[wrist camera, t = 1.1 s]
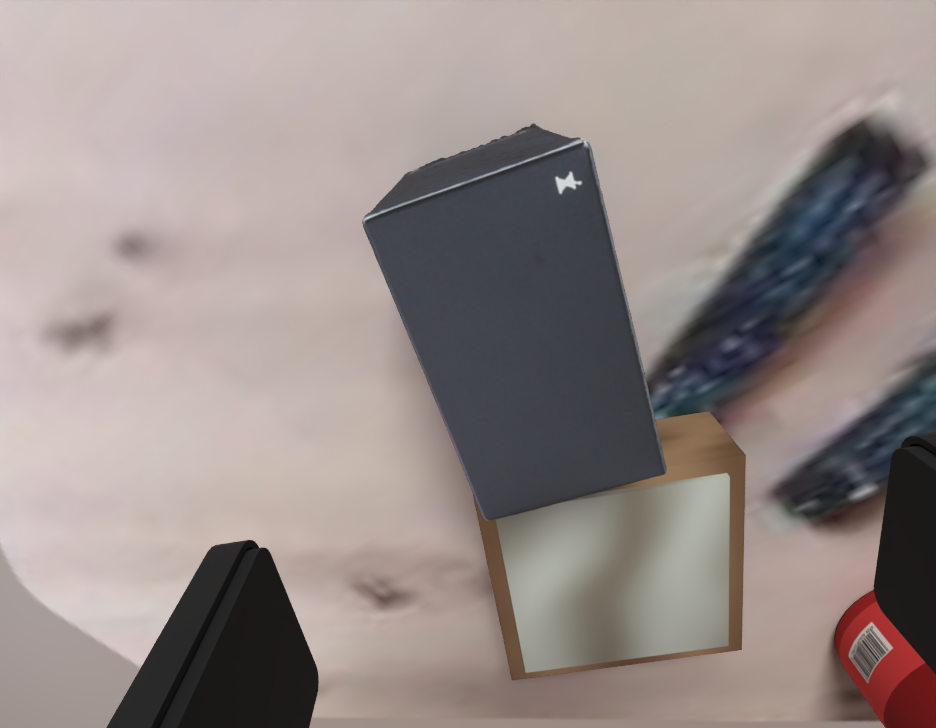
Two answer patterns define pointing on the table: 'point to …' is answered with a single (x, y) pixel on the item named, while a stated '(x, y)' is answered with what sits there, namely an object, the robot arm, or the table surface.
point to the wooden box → (628, 564)
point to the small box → (520, 320)
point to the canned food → (886, 667)
